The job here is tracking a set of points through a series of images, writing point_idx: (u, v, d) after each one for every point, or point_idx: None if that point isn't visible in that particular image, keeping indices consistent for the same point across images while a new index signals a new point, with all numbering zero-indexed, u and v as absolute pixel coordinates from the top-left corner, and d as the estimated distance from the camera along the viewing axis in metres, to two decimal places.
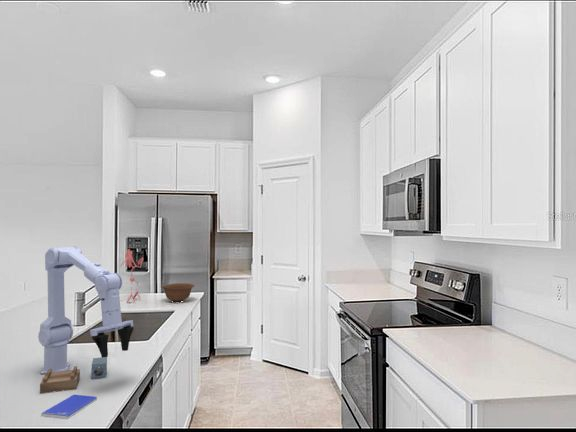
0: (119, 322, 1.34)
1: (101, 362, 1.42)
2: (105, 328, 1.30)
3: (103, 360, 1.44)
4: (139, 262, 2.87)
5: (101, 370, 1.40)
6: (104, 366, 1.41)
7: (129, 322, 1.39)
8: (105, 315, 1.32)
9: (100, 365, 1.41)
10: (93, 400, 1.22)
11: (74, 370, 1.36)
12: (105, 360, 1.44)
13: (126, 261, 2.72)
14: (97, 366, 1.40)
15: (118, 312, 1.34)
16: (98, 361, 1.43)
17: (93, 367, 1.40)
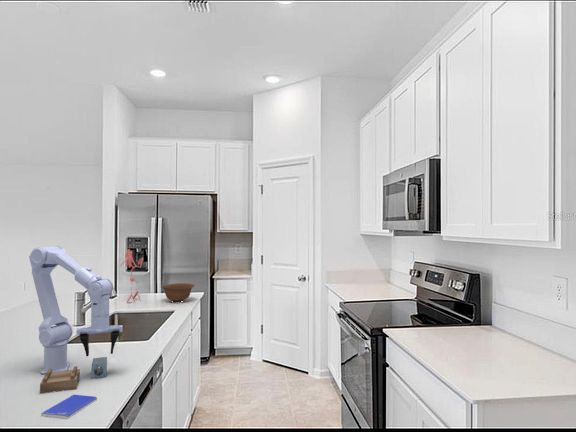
0: (101, 327, 1.41)
1: (101, 362, 1.42)
2: (87, 330, 1.41)
3: (103, 360, 1.44)
4: (139, 262, 2.87)
5: (101, 370, 1.40)
6: (104, 366, 1.41)
7: (117, 328, 1.45)
8: (91, 318, 1.42)
9: (100, 364, 1.41)
10: (93, 400, 1.22)
11: (74, 370, 1.36)
12: (105, 360, 1.44)
13: (126, 261, 2.72)
14: (97, 366, 1.40)
15: (101, 318, 1.41)
16: (98, 361, 1.43)
17: (93, 367, 1.40)
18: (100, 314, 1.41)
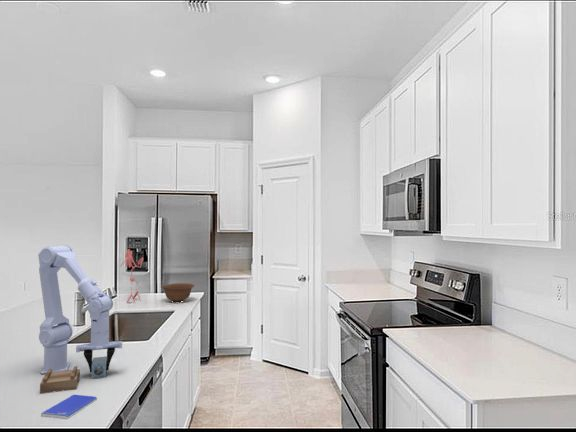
0: (101, 344, 1.41)
1: (101, 361, 1.42)
2: (86, 347, 1.41)
3: (103, 359, 1.44)
4: (139, 262, 2.87)
5: (101, 369, 1.40)
6: (104, 365, 1.41)
7: (117, 344, 1.45)
8: (91, 335, 1.42)
9: (100, 364, 1.41)
10: (93, 400, 1.22)
11: (74, 370, 1.36)
12: (105, 359, 1.44)
13: (126, 261, 2.72)
14: (97, 365, 1.40)
15: (101, 335, 1.41)
16: (98, 361, 1.43)
17: (93, 366, 1.40)
18: (100, 331, 1.41)
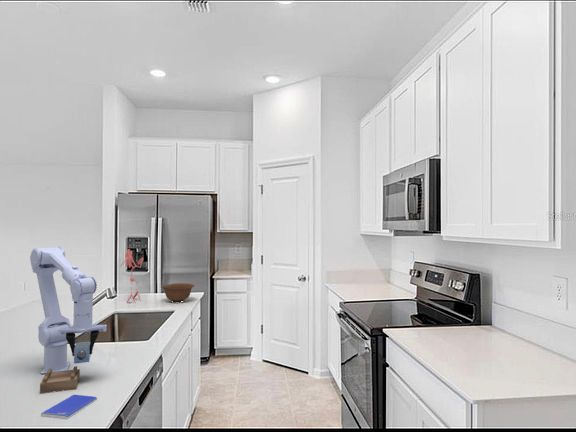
0: (84, 327, 1.37)
1: (84, 346, 1.38)
2: (69, 330, 1.36)
3: (86, 344, 1.40)
4: (139, 262, 2.87)
5: (84, 354, 1.36)
6: (87, 350, 1.37)
7: (100, 327, 1.40)
8: None
9: (83, 348, 1.37)
10: (93, 400, 1.22)
11: (74, 370, 1.36)
12: (88, 344, 1.40)
13: (126, 261, 2.72)
14: (80, 350, 1.36)
15: (84, 317, 1.37)
16: (81, 345, 1.38)
17: (76, 351, 1.36)
18: (80, 313, 1.37)
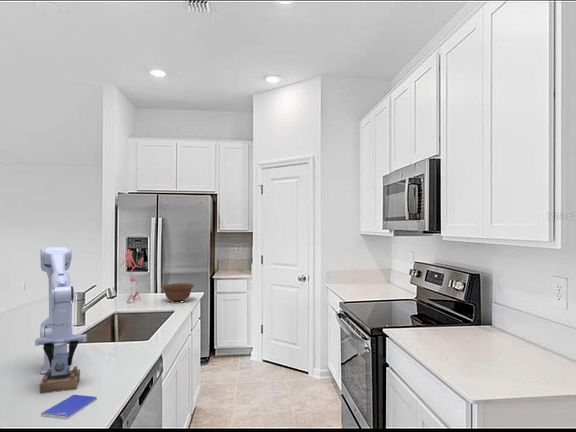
0: (62, 337, 1.32)
1: (62, 357, 1.32)
2: (46, 340, 1.31)
3: (65, 355, 1.35)
4: (139, 262, 2.87)
5: (62, 366, 1.31)
6: (65, 361, 1.32)
7: (80, 337, 1.35)
8: (51, 327, 1.33)
9: (61, 360, 1.31)
10: (93, 400, 1.22)
11: (74, 370, 1.36)
12: (67, 355, 1.35)
13: (126, 261, 2.72)
14: (58, 361, 1.31)
15: (62, 327, 1.32)
16: (59, 356, 1.33)
17: (53, 362, 1.30)
18: (54, 323, 1.32)
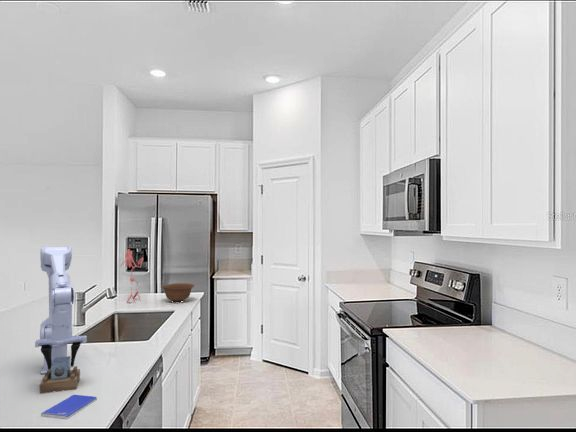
0: (62, 338, 1.32)
1: (62, 362, 1.32)
2: (46, 342, 1.31)
3: (65, 359, 1.35)
4: (139, 262, 2.87)
5: (62, 370, 1.31)
6: (65, 366, 1.32)
7: (80, 339, 1.35)
8: (51, 328, 1.33)
9: (61, 364, 1.31)
10: (93, 400, 1.22)
11: (74, 370, 1.36)
12: (67, 360, 1.35)
13: (126, 261, 2.72)
14: (57, 366, 1.31)
15: (62, 328, 1.32)
16: (59, 361, 1.33)
17: (53, 367, 1.30)
18: (54, 324, 1.32)
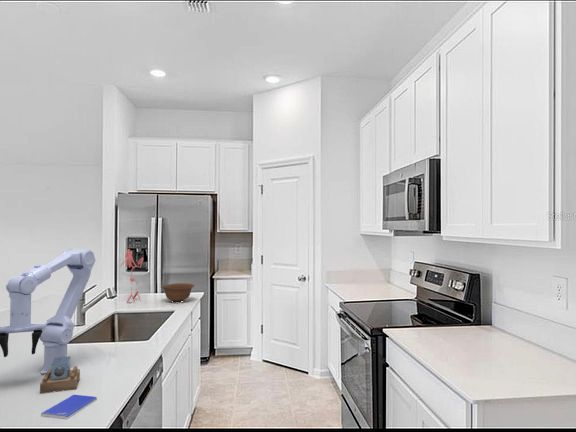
0: (20, 326, 1.33)
1: (62, 362, 1.32)
2: (4, 329, 1.32)
3: (65, 359, 1.35)
4: (139, 262, 2.87)
5: (62, 370, 1.31)
6: (65, 366, 1.32)
7: (39, 327, 1.36)
8: (10, 316, 1.34)
9: (61, 364, 1.31)
10: (93, 400, 1.22)
11: (74, 370, 1.36)
12: (67, 360, 1.35)
13: (126, 261, 2.72)
14: (57, 366, 1.31)
15: (20, 316, 1.33)
16: (59, 361, 1.33)
17: (53, 367, 1.30)
18: (10, 311, 1.34)
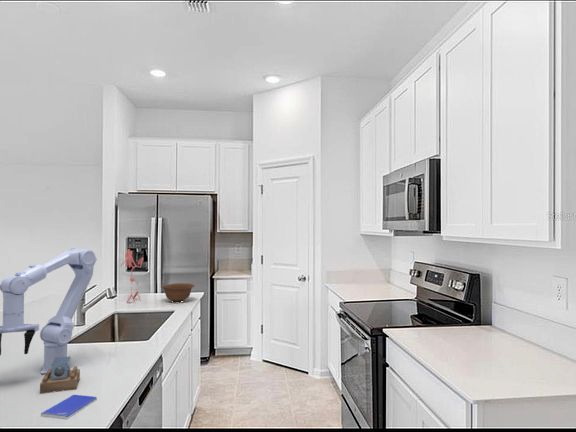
0: (13, 326, 1.33)
1: (62, 362, 1.32)
2: None
3: (65, 359, 1.35)
4: (139, 262, 2.87)
5: (62, 370, 1.31)
6: (65, 366, 1.32)
7: (32, 327, 1.36)
8: (3, 316, 1.34)
9: (61, 364, 1.31)
10: (93, 400, 1.22)
11: (74, 370, 1.36)
12: (67, 360, 1.35)
13: (126, 261, 2.72)
14: (57, 366, 1.31)
15: (13, 316, 1.33)
16: (59, 361, 1.33)
17: (53, 367, 1.30)
18: None
